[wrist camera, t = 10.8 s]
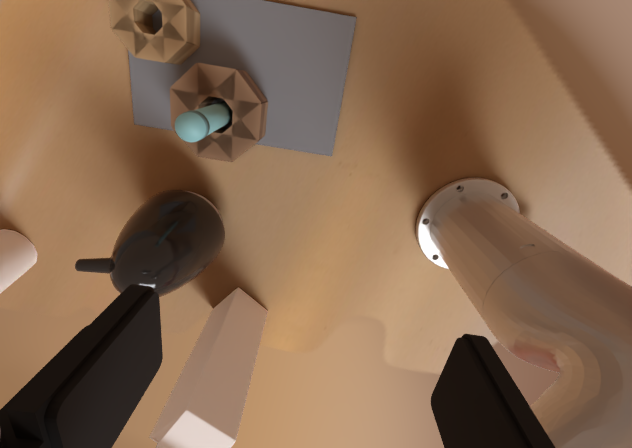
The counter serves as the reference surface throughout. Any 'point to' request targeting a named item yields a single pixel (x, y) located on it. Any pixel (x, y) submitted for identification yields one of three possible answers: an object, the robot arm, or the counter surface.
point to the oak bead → (143, 41)
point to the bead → (240, 96)
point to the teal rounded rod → (202, 121)
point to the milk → (214, 378)
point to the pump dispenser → (163, 243)
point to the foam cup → (14, 257)
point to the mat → (262, 68)
